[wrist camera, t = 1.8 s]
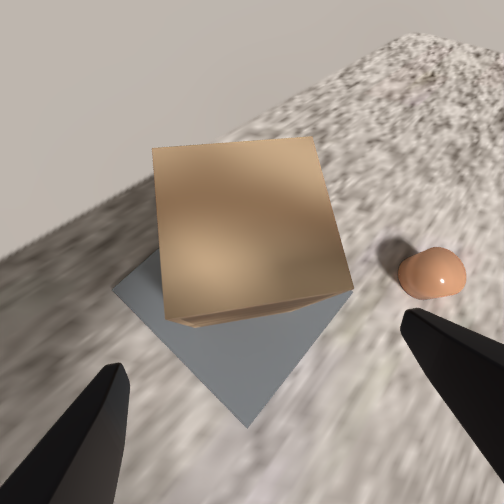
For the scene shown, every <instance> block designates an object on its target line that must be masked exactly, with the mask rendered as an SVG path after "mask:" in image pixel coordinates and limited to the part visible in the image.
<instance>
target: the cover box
mask: <svg viewBox="0 0 504 504" xmlns="http://www.w3.org/2000/svg"><path fill="white" fill-rule="evenodd" d="M152 155H153V168H154V182H155V195H156V208H157V221H158V235H159V248H160V261H161V274H162V288H163V301H164V314H165V320H168V321H172V322H175V323H179V324H183V325H186V326H190V327H193V328H197V327H203V326H209V325H215V324H221V323H227V322H233V321H239V320H245V319H251V318H257V317H263V316H268V315H274V314H280V313H286V312H292V311H295V310H297V309H300V308H303V307H306V306H308V305H311V304H314V303H317V302H320V301H322V300H325V299H328V298H331V297H333V296H336V295H339V294H342V293H344V292H347V291H350V290H353V289H354V286H353V282H352V279H351V275H350V271H349V268H348V264H347V261H346V257H345V253H344V250H343V246H342V243H341V239H340V235H339V232H338V228H337V224H336V221H335V217H334V214H333V210H332V206H331V203H330V199H329V195H328V192H327V188H326V185H325V181H324V177H323V174H322V170H321V166H320V163H319V159H318V156H317V152H316V148H315V145H314V141H313V137H312V136H311V137H297V138H284V139H270V140H256V141H243V142H229V143H215V144H202V145H189V146H175V147H162V148H152Z"/></svg>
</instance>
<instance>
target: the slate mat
mask: <svg viewBox="0 0 504 504" xmlns="http://www.w3.org/2000/svg"><path fill="white" fill-rule="evenodd" d="M112 290H113V291H114V293H115V294H116V295H117V296H118V297H119V298H120V299H121V300H122V301H123V302H124V303H125V304H126V305H127V306H128V307H129V308H130V309H131V310H132V311H133V312H134V313H135V314H136V315H137V316H138V317H139V318H140V319H141V320H142V321H143V322H144V323H145V324H146V325H147V326H148V327H149V328H150V329H151V330H152V331H153V332H154V334H155V335H156V336H157V337H158V338H159V339H160V340H161V341H162V342H163V343H164V344H165V345H166V346H167V347H168V348H169V349H170V350H171V351H172V352H173V353H174V354H175V355H176V356H177V357H178V358H179V359H180V360H181V361H182V362H183V363H184V364H185V365H186V366H187V367H188V368H189V369H190V370H191V371H192V372H193V373H194V375H195V376H196V377H197V378H198V379H199V380H200V381H201V382H202V383H203V384H204V385H205V386H206V387H207V388H208V389H209V390H210V391H211V392H212V393H213V394H214V395H215V396H216V397H217V398H218V399H219V400H220V401H221V402H222V403H223V404H224V405H225V406H226V407H227V408H228V409H229V410H230V411H231V412H232V413H233V414H234V416H235V417H236V418H237V419H238V420H239V421H240V422H241V423H242V424H243V425H244V426H245V427H246V428H248V427H249V426H250V424H251V423H252V422H253V421H254V419H255V418H256V417H257V415H258V414H259V413H260V412H261V410H262V409H263V408H264V406H265V405H266V404H267V403H268V401H269V400H270V399H271V397H272V396H273V395H274V394H275V392H276V391H277V390H278V388H279V387H280V386H281V385H282V383H283V382H284V381H285V379H286V378H287V377H288V375H289V374H290V373H291V372H292V370H293V369H294V368H295V366H296V365H297V364H298V363H299V361H300V360H301V359H302V357H303V356H304V355H305V354H306V352H307V351H308V350H309V348H310V347H311V346H312V345H313V343H314V342H315V341H316V339H317V338H318V337H319V336H320V334H321V333H322V332H323V330H324V329H325V328H326V326H327V325H328V324H329V323H330V321H331V320H332V319H333V317H334V316H335V315H336V314H337V312H338V311H339V310H340V308H341V307H342V306H343V305H344V303H345V302H346V301H347V299H348V298H349V297H350V296H351V294H352V293H353V292H352V291H351V290H350V291H347V292H344V293H342V294H339V295H336V296H333V297H331V298H328V299H325V300H322V301H320V302H317V303H314V304H311V305H308V306H306V307H303V308H300V309H297V310H295V311H292V312H286V313H280V314H274V315H268V316H263V317H257V318H251V319H245V320H239V321H233V322H227V323H221V324H215V325H209V326H203V327H197V328H193V327H190V326H186V325H183V324H179V323H175V322H172V321H168V320H165V314H164V301H163V288H162V274H161V261H160V248H158V249H157V250H156V251H155V252H154V253H153V254H151V255H150V256H149V257H148V258H147V259H146V260H145V261H144V262H142V263H141V264H140V265H139V266H138V267H137V268H136V269H135V270H133V271H132V272H131V273H130V274H129V275H128V276H127V277H125V278H124V279H123V280H122V281H121V282H120V283H119V284H118V285H116V286H115V287H114V288H113V289H112Z"/></svg>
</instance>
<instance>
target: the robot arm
mask: <svg viewBox="0 0 504 504" xmlns="http://www.w3.org/2000/svg"><path fill="white" fill-rule="evenodd" d="M400 331H401V334H402V336H403V338H404V340H405V341H406V343H407V345H408V346H409V348H410V350H411V351H412V353H413V355H414V356H415V358H416V360H417V361H418V363H419V365H420V366H421V368H422V370H423V371H424V373H425V375H426V376H427V378H428V379H429V381H430V382H431V383H432V385H433V386H434V388H435V389H436V390H437V392H438V393H439V395H440V396H441V397H442V399H443V400H444V401H445V403H446V404H447V406H448V407H449V408H450V410H451V411H452V413H453V414H454V415H455V417H456V418H457V419H458V421H459V422H460V424H461V425H462V426H463V428H464V429H465V430H466V432H467V433H468V435H469V436H470V437H471V439H472V440H473V442H474V443H475V444H476V446H477V447H478V448H479V450H480V451H481V453H482V454H483V455H484V457H485V458H486V459H487V461H488V462H489V464H490V465H491V466H492V468H493V469H494V471H495V472H496V473H497V475H498V476H499V477H500V479H501V480H502V482H503V483H504V344H502V343H499V342H497V341H495V340H492V339H490V338H488V337H485V336H483V335H481V334H479V333H476V332H474V331H472V330H469V329H467V328H465V327H462V326H460V325H458V324H455V323H453V322H451V321H448V320H446V319H444V318H442V317H439V316H437V315H435V314H432V313H430V312H428V311H425V310H423V309H421V308H413V309H408V310H406V311H405V313H404V316H403V319H402V323H401V326H400ZM129 394H130V382H129V379H128V376H127V374H126V372H125V369H124V367H123V365H122V364H121V363H113V364H108V365H105V366H104V367H103V368H102V369H101V370H100V372H99V373H98V374H97V375H96V376H95V377H94V379H93V380H92V381H91V382H90V383H89V384H88V386H87V387H86V388H85V389H84V390H83V391H82V393H81V394H80V395H79V396H78V397H77V398H76V400H75V401H74V402H73V403H72V404H71V405H70V407H69V408H68V409H67V410H66V411H65V412H64V414H63V415H62V416H61V417H60V418H59V419H58V421H57V422H56V423H55V424H54V425H53V426H52V428H51V429H50V430H49V431H48V432H47V433H46V435H45V436H44V437H43V438H42V439H41V440H40V442H39V443H38V444H37V445H36V446H35V447H34V449H33V450H32V451H31V452H30V453H29V454H28V456H27V457H26V458H25V459H24V460H23V461H22V462H21V464H20V465H19V466H18V467H17V468H16V469H15V471H14V472H13V473H12V474H11V475H10V476H9V478H8V479H7V480H6V481H5V482H4V483H3V485H2V486H1V487H0V504H113V502H114V497H115V492H116V487H117V482H118V477H119V472H120V467H121V462H122V457H123V451H124V445H125V436H126V426H127V415H128V404H129Z"/></svg>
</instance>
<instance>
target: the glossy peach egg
mask: <svg viewBox="0 0 504 504" xmlns="http://www.w3.org/2000/svg"><path fill="white" fill-rule="evenodd" d="M398 278H399V281H400V284H401V286H402V287H403V289H404V290H405V291H406V292H407V293H408V294H409V295H410V296H412V297H414V298H416V299H420V300H427V299H433V298H439V297H444V296H450V295H454V294H457V293H459V292H460V291H461V290H462V289H463V288H464V286H465V283H466V271H465V268H464V265H463V263H462V262H461V260H460V259H459V258H458V257H457V256H456V255H455V254H454V253H453V252H451V251H450V250H448V249H445V248H441V247H433V248H430V249H427V250H425V251H423V252H420V253H418V254H416V255H413V256H411V257H409V258H406V259H405V260H404V261H403V262H402V263H401V264H400V266H399V269H398Z"/></svg>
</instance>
